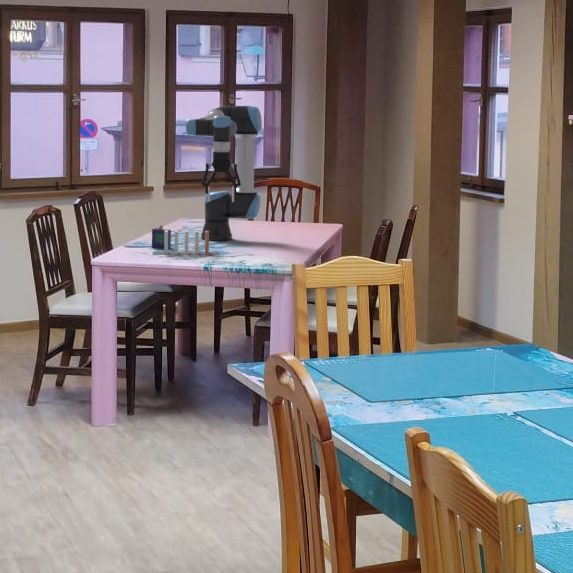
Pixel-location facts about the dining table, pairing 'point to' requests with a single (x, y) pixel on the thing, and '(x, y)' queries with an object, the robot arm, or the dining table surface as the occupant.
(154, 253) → the mat
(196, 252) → the domino
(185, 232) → the domino
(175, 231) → the domino
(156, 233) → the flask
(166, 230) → the domino
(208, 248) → the domino
